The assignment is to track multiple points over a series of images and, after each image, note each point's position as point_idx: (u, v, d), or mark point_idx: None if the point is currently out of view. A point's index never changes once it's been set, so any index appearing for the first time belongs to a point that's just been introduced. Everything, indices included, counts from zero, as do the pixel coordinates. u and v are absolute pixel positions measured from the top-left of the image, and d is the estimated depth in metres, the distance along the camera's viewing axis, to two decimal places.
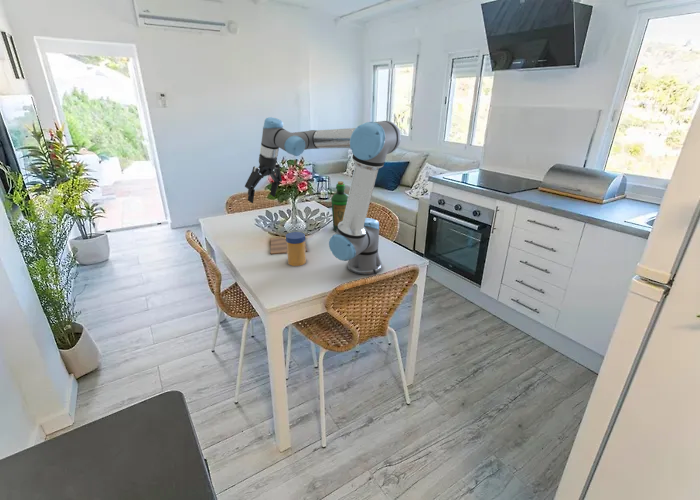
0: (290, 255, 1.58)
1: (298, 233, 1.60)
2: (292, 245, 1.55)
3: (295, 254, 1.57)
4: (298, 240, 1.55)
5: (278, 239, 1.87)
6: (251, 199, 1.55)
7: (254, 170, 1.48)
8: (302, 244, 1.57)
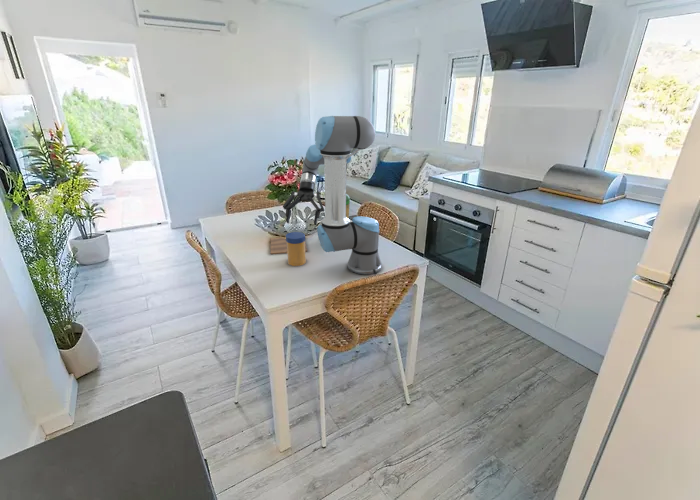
0: (290, 255, 1.58)
1: (298, 233, 1.60)
2: (292, 245, 1.55)
3: (295, 254, 1.57)
4: (298, 240, 1.55)
5: (278, 239, 1.87)
6: None
7: None
8: (302, 244, 1.57)
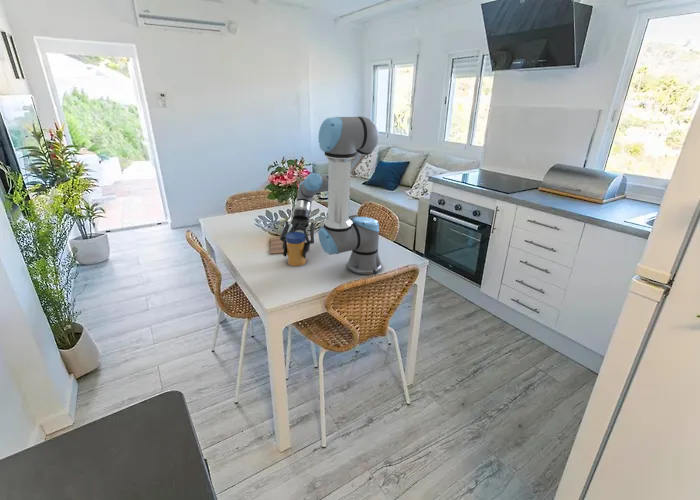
0: (290, 255, 1.58)
1: (298, 233, 1.60)
2: (292, 245, 1.55)
3: (295, 254, 1.57)
4: (298, 240, 1.55)
5: (278, 239, 1.87)
6: None
7: None
8: (302, 244, 1.57)
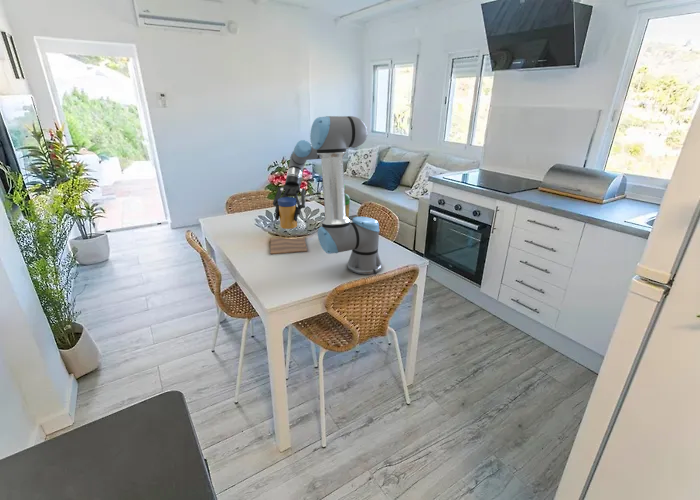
0: (282, 218, 1.67)
1: (290, 198, 1.69)
2: (284, 208, 1.64)
3: (287, 217, 1.66)
4: (289, 203, 1.64)
5: (278, 239, 1.87)
6: None
7: None
8: (293, 208, 1.66)
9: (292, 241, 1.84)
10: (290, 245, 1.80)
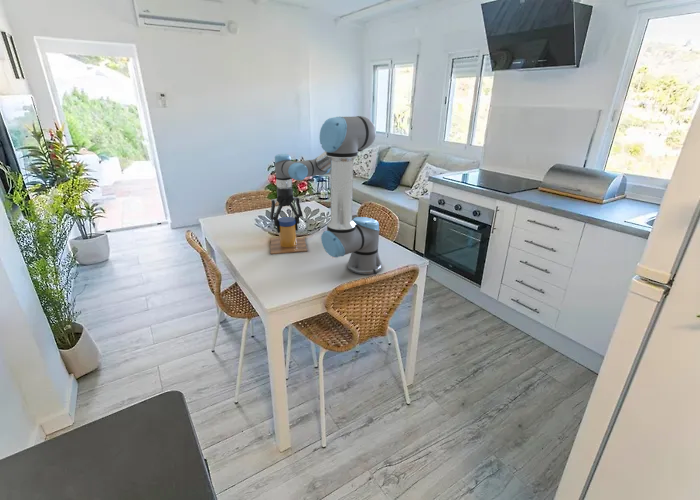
0: (282, 237, 1.76)
1: (289, 218, 1.78)
2: (284, 228, 1.73)
3: (287, 236, 1.75)
4: (289, 223, 1.73)
5: (278, 239, 1.87)
6: (277, 229, 1.75)
7: None
8: (293, 227, 1.75)
9: None
10: None
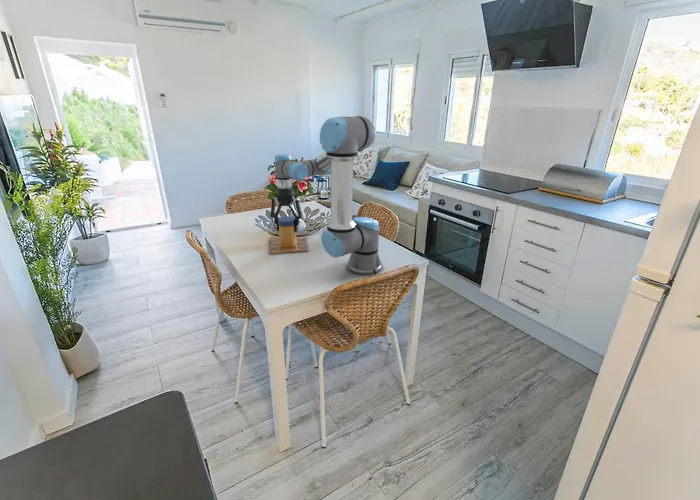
0: (282, 237, 1.76)
1: (281, 219, 1.74)
2: (284, 228, 1.73)
3: (287, 236, 1.75)
4: None
5: (278, 239, 1.87)
6: (297, 227, 1.78)
7: (298, 201, 1.71)
8: (293, 227, 1.75)
9: None
10: None
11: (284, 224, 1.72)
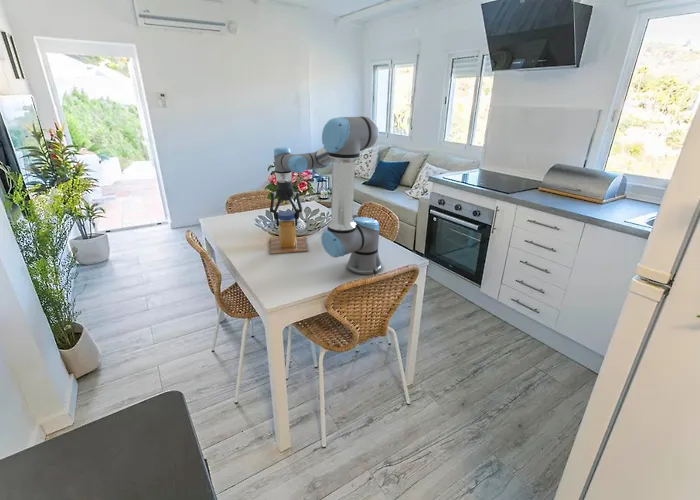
0: (282, 237, 1.76)
1: (282, 214, 1.73)
2: (284, 228, 1.73)
3: (287, 236, 1.75)
4: None
5: (278, 239, 1.87)
6: None
7: (298, 195, 1.71)
8: (293, 227, 1.75)
9: None
10: None
11: (285, 218, 1.71)
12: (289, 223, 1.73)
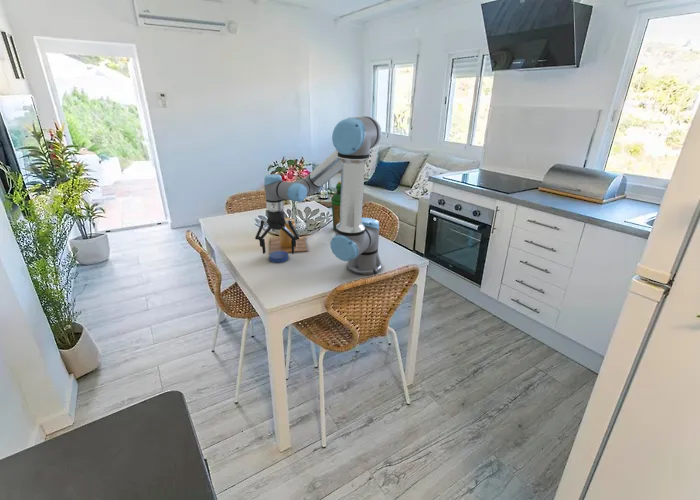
0: (282, 237, 1.76)
1: (273, 255, 1.64)
2: None
3: (287, 236, 1.75)
4: None
5: (278, 239, 1.87)
6: None
7: (291, 222, 1.59)
8: None
9: None
10: None
11: (277, 261, 1.62)
12: None
